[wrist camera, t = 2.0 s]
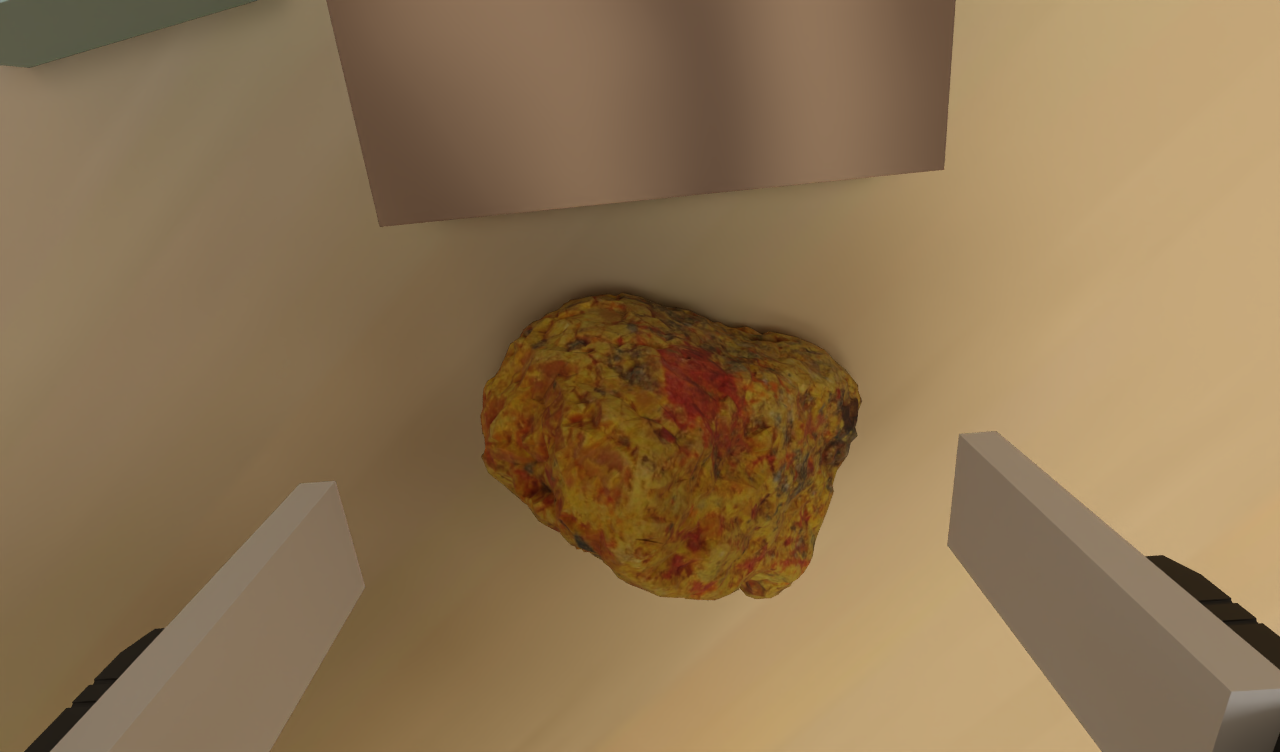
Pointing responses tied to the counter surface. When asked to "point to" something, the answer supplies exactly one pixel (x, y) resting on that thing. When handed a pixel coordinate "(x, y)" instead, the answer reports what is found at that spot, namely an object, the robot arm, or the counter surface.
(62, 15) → the teal block
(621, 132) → the walnut block
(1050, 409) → the counter surface
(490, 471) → the rock
